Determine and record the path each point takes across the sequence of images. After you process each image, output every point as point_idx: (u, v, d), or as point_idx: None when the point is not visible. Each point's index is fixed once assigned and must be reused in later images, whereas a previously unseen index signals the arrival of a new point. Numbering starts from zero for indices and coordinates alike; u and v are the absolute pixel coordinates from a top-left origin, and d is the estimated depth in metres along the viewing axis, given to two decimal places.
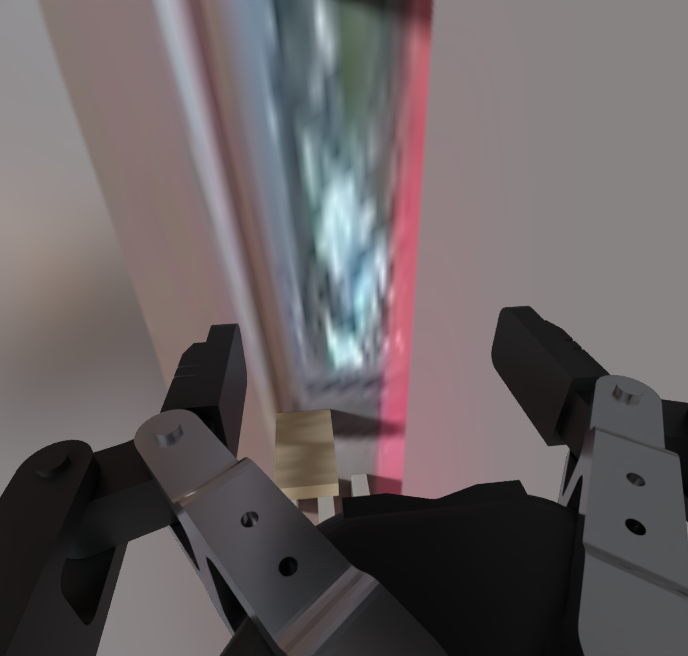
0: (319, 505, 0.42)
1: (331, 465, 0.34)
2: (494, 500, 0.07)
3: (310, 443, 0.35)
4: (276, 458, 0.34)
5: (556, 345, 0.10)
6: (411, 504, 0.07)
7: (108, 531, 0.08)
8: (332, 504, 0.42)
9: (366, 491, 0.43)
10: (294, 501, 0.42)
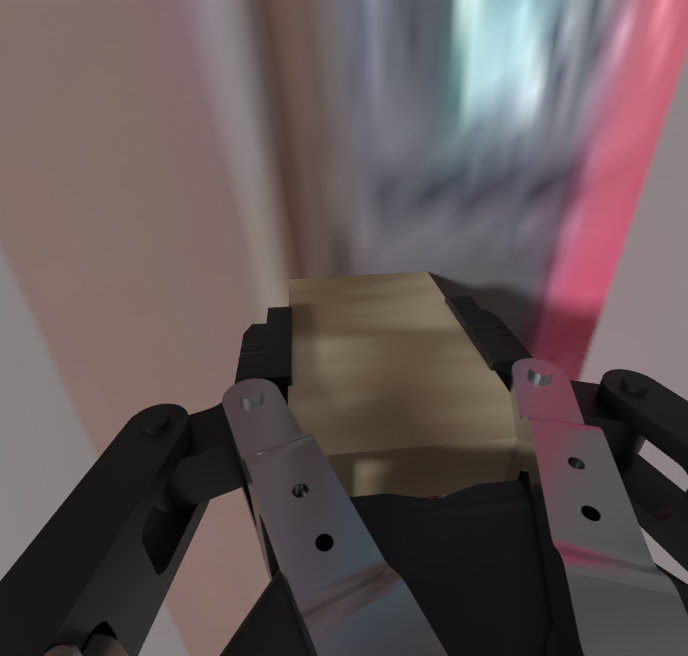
0: None
1: (484, 383, 0.10)
2: (494, 500, 0.07)
3: (394, 331, 0.12)
4: (293, 366, 0.10)
5: (485, 332, 0.11)
6: (411, 504, 0.07)
7: (200, 486, 0.09)
8: None
9: None
10: None
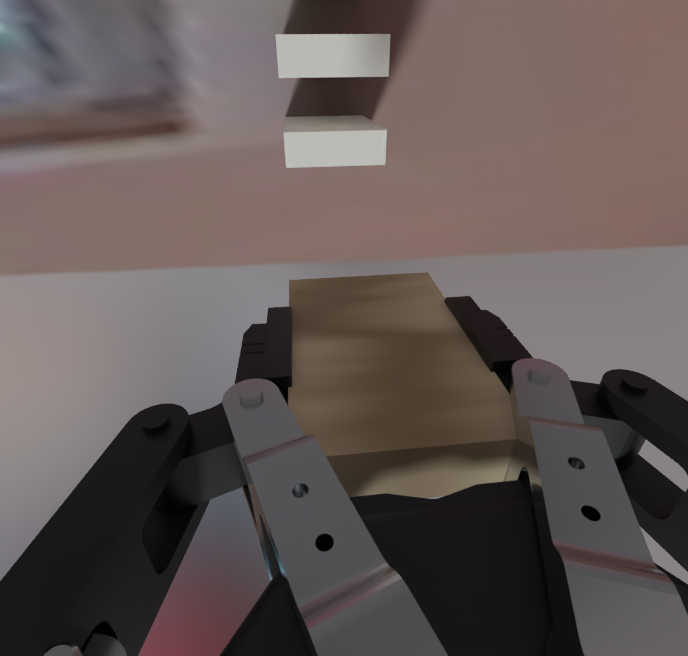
0: None
1: (484, 384, 0.10)
2: (494, 500, 0.07)
3: (394, 332, 0.12)
4: (294, 367, 0.10)
5: (485, 331, 0.11)
6: (411, 504, 0.07)
7: (200, 486, 0.09)
8: None
9: None
10: None
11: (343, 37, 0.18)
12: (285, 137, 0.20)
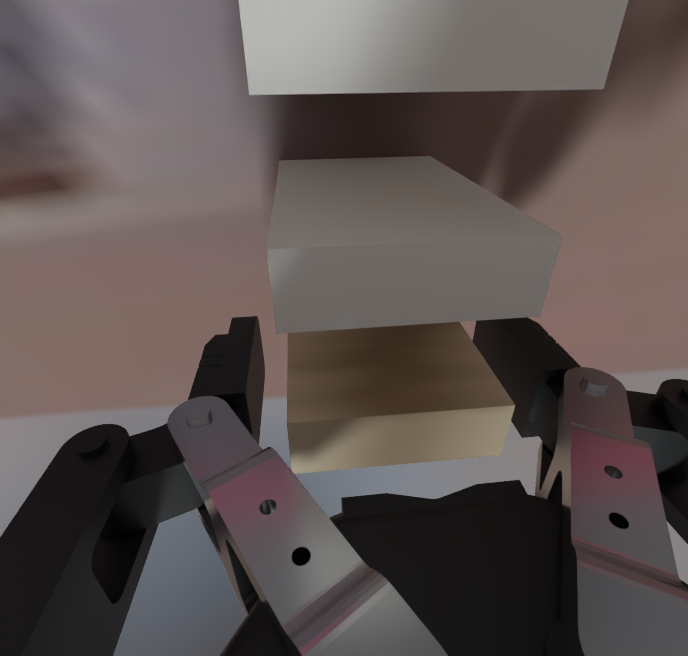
0: None
1: (468, 361, 0.10)
2: (494, 500, 0.07)
3: None
4: (292, 345, 0.11)
5: (529, 339, 0.11)
6: (411, 504, 0.07)
7: (143, 511, 0.08)
8: None
9: None
10: None
11: None
12: (272, 262, 0.07)
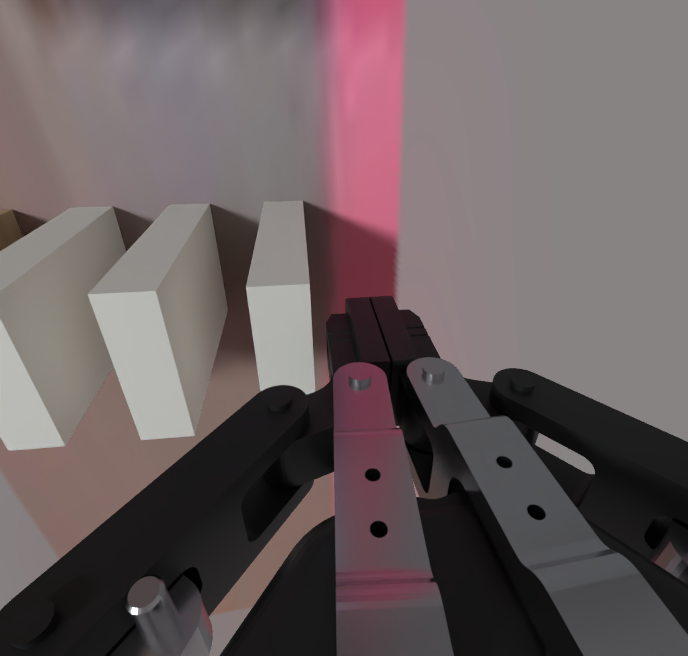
0: (150, 230, 0.14)
1: None
2: None
3: None
4: None
5: (395, 331, 0.11)
6: None
7: (314, 464, 0.09)
8: (190, 229, 0.14)
9: (297, 216, 0.15)
10: (81, 224, 0.14)
11: (176, 384, 0.12)
12: None
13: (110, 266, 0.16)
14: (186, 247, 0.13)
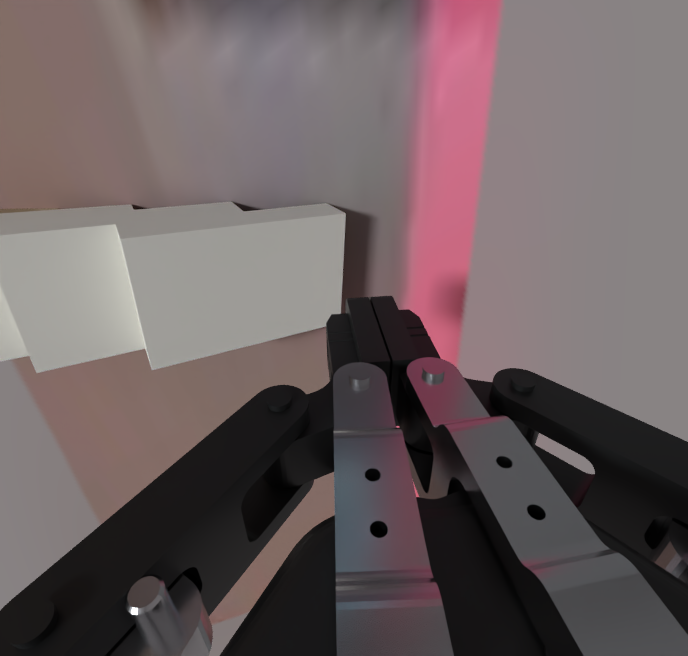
0: (149, 210, 0.15)
1: None
2: None
3: None
4: None
5: (395, 331, 0.11)
6: None
7: (314, 464, 0.09)
8: (153, 219, 0.14)
9: (293, 217, 0.15)
10: None
11: (15, 321, 0.14)
12: None
13: None
14: (108, 229, 0.14)
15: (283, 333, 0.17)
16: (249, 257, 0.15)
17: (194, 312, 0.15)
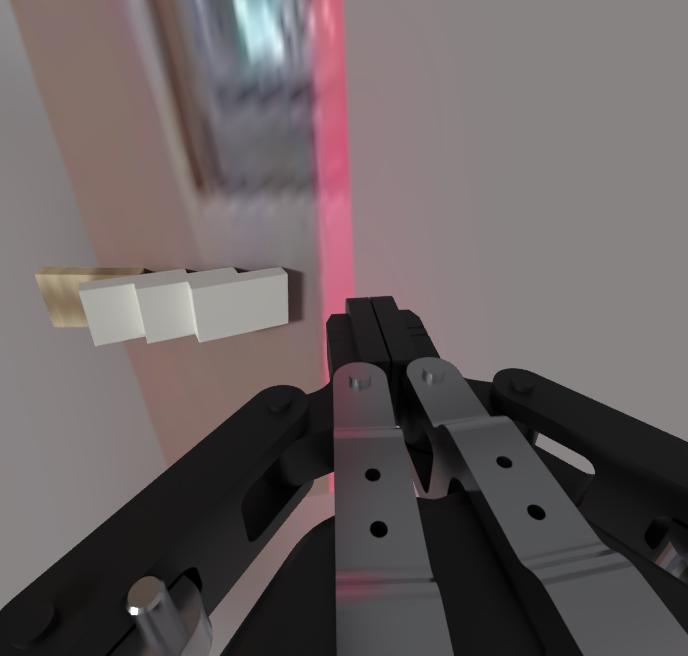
0: (196, 273, 0.35)
1: (73, 322, 0.36)
2: None
3: None
4: (73, 276, 0.34)
5: (395, 331, 0.11)
6: None
7: (314, 464, 0.09)
8: None
9: (262, 276, 0.35)
10: None
11: (142, 321, 0.33)
12: None
13: None
14: (181, 284, 0.33)
15: (259, 327, 0.37)
16: (242, 294, 0.35)
17: (218, 317, 0.35)
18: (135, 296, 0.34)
